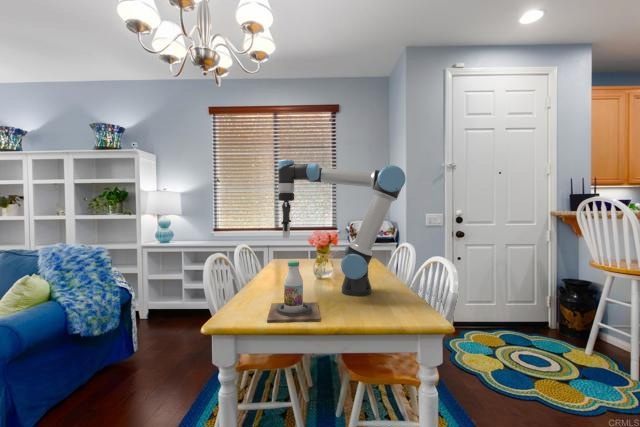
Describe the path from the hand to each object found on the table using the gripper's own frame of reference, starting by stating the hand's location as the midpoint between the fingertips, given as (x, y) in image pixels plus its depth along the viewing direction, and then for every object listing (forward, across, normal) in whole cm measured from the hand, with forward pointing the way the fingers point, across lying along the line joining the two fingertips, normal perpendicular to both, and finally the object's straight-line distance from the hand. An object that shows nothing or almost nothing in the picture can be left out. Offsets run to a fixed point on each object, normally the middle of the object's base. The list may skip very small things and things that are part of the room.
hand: (286, 236), depth 152 cm
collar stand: (+29, +24, +4) cm, 38 cm away
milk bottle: (+28, +24, +4) cm, 37 cm away
